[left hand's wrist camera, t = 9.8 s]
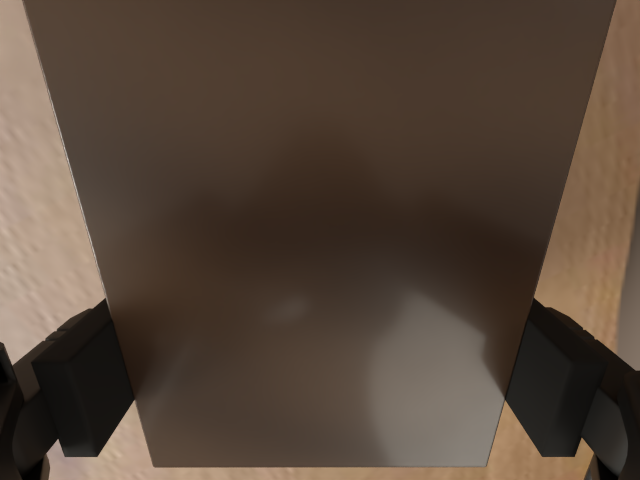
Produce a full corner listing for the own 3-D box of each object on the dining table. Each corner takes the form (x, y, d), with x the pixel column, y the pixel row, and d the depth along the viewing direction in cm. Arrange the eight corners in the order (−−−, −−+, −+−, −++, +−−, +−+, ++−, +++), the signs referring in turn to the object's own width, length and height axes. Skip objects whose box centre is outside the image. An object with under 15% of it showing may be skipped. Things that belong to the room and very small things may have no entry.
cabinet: (179, -83, 13) (-110, -459, 4) (459, -83, 13) (747, -457, 4) (227, 303, 19) (152, 468, 10) (412, 303, 19) (487, 468, 10)
